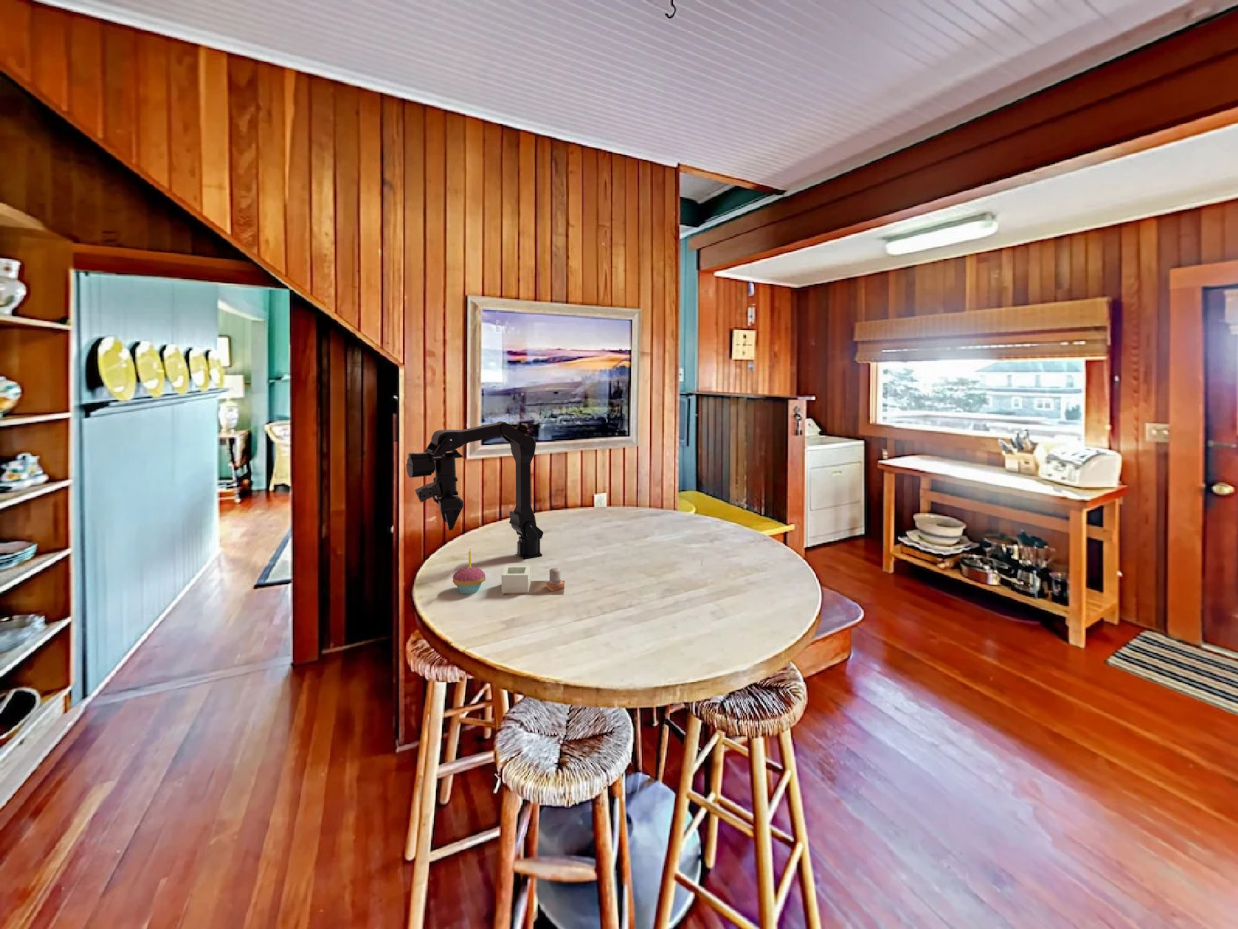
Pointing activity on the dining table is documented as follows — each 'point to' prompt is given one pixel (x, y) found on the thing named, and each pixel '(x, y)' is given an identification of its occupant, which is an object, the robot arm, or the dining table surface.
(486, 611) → the dining table surface
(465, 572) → the cupcake
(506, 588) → the square hollow sleeve
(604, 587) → the dining table surface
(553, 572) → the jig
